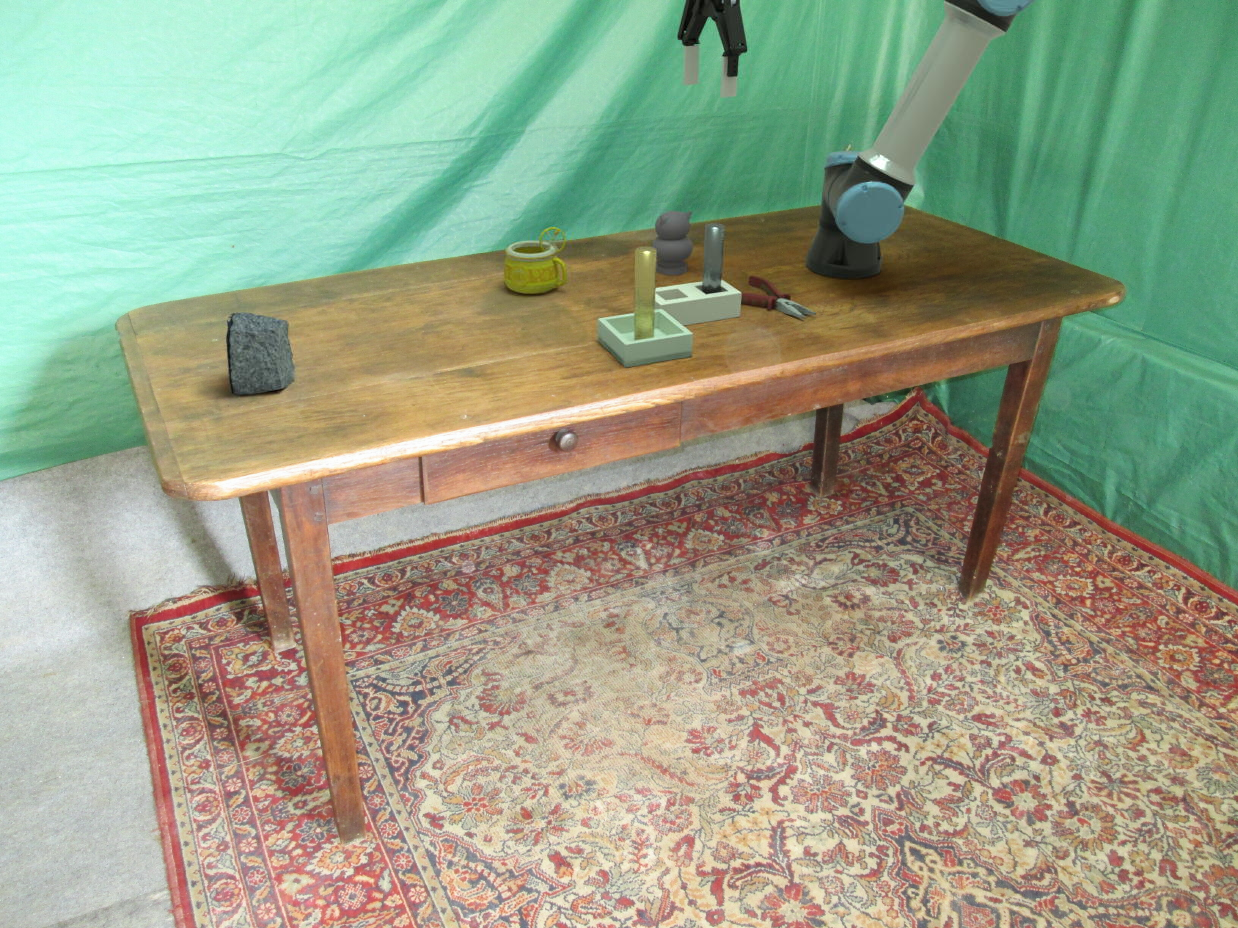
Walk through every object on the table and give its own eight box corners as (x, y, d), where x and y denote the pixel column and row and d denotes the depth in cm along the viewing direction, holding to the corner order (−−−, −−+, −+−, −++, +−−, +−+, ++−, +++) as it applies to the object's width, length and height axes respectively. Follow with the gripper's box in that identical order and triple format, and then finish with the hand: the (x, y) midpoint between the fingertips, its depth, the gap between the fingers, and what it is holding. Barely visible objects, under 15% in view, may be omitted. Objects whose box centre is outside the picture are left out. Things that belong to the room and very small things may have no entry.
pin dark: (714, 307, 182) (719, 222, 174) (722, 314, 180) (728, 227, 172) (697, 310, 181) (701, 224, 173) (706, 316, 178) (710, 229, 170)
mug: (494, 293, 188) (490, 231, 182) (520, 275, 197) (517, 216, 191) (554, 302, 184) (552, 239, 178) (578, 284, 193) (577, 223, 187)
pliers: (787, 329, 175) (789, 316, 173) (710, 297, 188) (711, 284, 187) (831, 315, 181) (832, 302, 179) (752, 285, 194) (754, 273, 193)
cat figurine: (678, 261, 205) (680, 203, 199) (699, 272, 199) (702, 213, 193) (643, 268, 201) (644, 209, 195) (664, 279, 195) (666, 219, 189)
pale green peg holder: (719, 301, 185) (720, 278, 183) (739, 316, 179) (741, 293, 176) (641, 313, 179) (641, 290, 177) (659, 329, 173) (660, 305, 171)
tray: (661, 330, 173) (661, 308, 171) (691, 356, 163) (693, 333, 161) (597, 340, 169) (597, 318, 167) (625, 367, 159) (625, 344, 157)
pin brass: (649, 337, 167) (651, 245, 159) (657, 345, 165) (660, 252, 157) (630, 340, 166) (631, 248, 158) (638, 348, 163) (640, 254, 155)
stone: (221, 405, 151) (236, 361, 157) (288, 413, 152) (300, 369, 159) (214, 347, 142) (231, 303, 149) (285, 357, 144) (299, 313, 150)
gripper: (659, -48, 171) (658, 81, 182) (732, -40, 152) (725, 104, 163) (697, -49, 174) (694, 78, 185) (774, -42, 155) (764, 100, 165)
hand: (708, 90), depth 174 cm, fingers open, 13 cm apart
